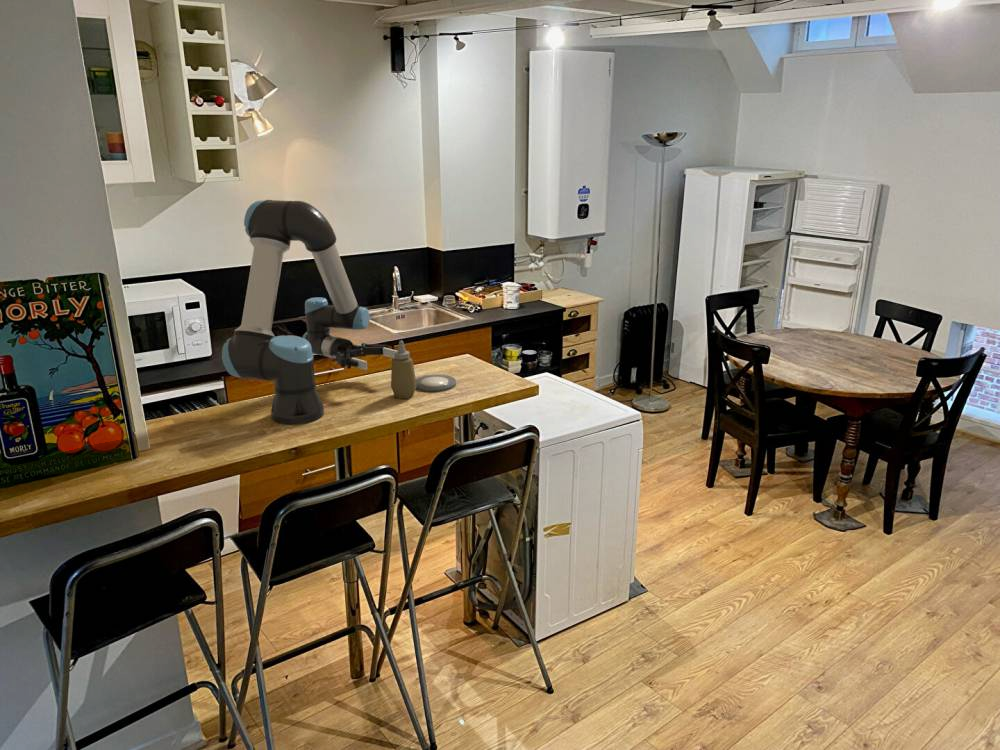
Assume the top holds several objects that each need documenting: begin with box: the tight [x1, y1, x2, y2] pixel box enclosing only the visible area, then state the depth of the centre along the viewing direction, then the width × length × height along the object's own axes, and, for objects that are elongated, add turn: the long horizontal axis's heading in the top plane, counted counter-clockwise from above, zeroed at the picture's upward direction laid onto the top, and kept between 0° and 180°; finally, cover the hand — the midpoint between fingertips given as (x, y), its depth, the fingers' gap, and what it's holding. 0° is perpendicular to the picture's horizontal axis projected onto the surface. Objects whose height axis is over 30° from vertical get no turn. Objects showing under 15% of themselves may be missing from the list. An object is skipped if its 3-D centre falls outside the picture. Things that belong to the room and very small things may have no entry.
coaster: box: [415, 374, 457, 393], centre depth 248 cm, size 14×14×1 cm
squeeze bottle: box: [390, 340, 417, 399], centre depth 236 cm, size 8×8×18 cm
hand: (382, 360), depth 241 cm, fingers open, 13 cm apart
